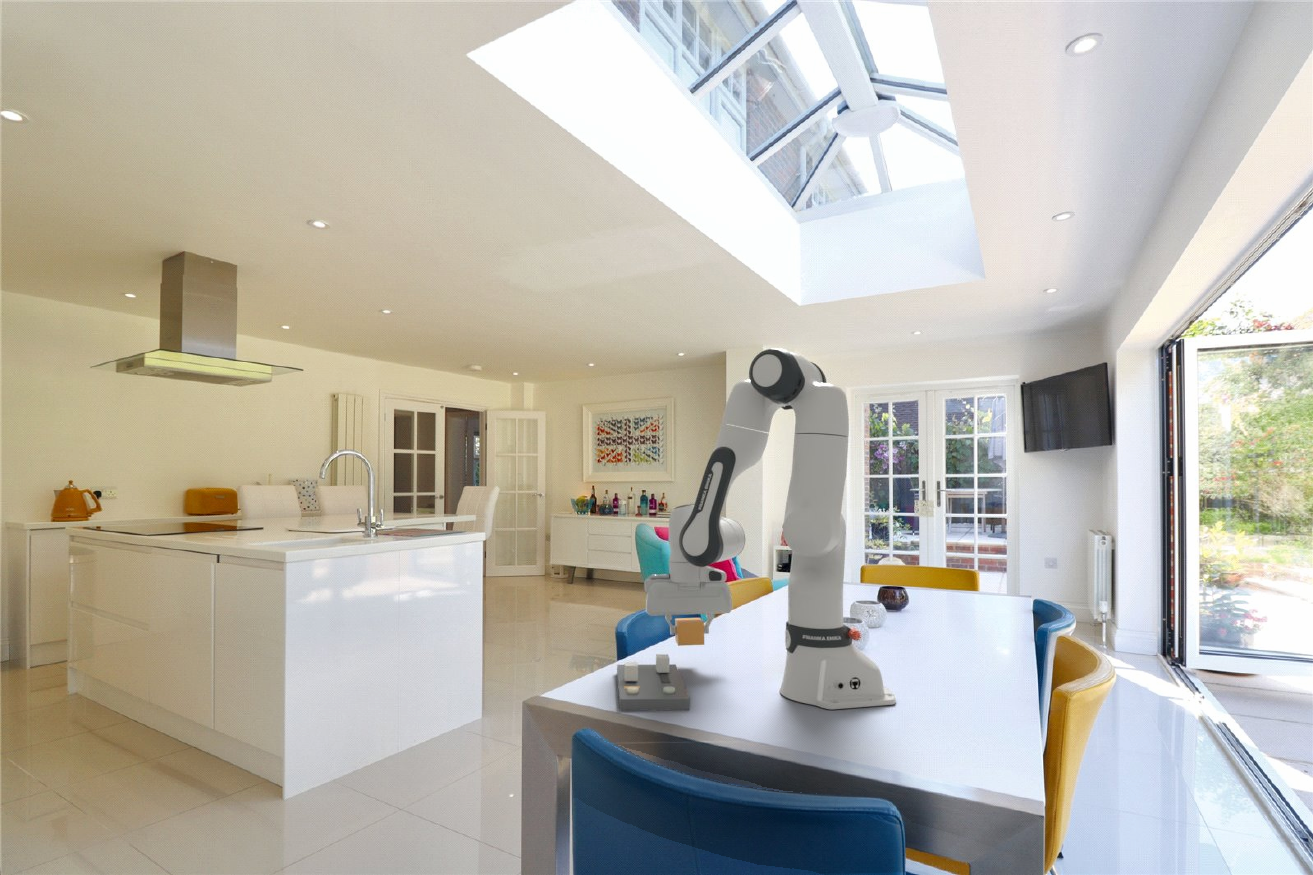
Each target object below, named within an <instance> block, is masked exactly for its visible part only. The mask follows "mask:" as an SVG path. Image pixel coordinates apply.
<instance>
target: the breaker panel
mask: <svg viewBox="0 0 1313 875" xmlns="http://www.w3.org/2000/svg"><path fill="white" fill-rule="evenodd" d="M616 667H617V669H616V670H617V671H616V676H617V691H618V702H619V711H690V710H691V709H690V708H691V698H690V695H689V694H688V691H687V689H686V686H685V684H684V681H683V679H682V677H681V674H680V672H679V669H678V666H677V665H676V663H674V664H669V673H657V671H656V664H638V681H625V678H624V669H625V664H616Z"/></svg>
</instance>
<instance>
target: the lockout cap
mask: <svg viewBox="0 0 1313 875" xmlns="http://www.w3.org/2000/svg"><path fill="white" fill-rule="evenodd" d="M704 625H705V622H704V620H703V619H702V618H701V617H685V618H684V617H683V618H682V617H679V618H676V617H675V618H674V626H676V627H677V635H675V637H674V638H675V643H676V644H677V646H679V647H680V646H681V647H682V646H705V634H704Z"/></svg>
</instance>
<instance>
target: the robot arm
mask: <svg viewBox="0 0 1313 875" xmlns="http://www.w3.org/2000/svg"><path fill="white" fill-rule="evenodd" d="M748 377H749V378H748V379H743V380H740V381H738V382H736V384H735V385H734V386H733V387H732V390H731V392H730V394H729V396H728V399H727V402H726V405H725V408H724V410H723V415H722V418H721V421H720V422H721V423H720V427H719V431H718V436H717V438H716V442H715V445H714V448H713V451H712V452H711V454H710V457H709V459H708V461H707V464H706V467H705V470H704V472H703V474H702V479H701V483H700V486H699V490H698V491H697V492H698V493H697V495H696V499H695V502H694V503H689V504H688V503H687V504H682V505H678V506H676V507H675V508H673V509H671V512H670V515H669V520H668V545H669V548H670V552H669V553H670V555H669V558H668V568H669V570H668V571H669V573H663V574H662V573H661V574H650V575H649V576H647V577H646V578H645V579H644V582H643V588H644V589H643V591H644V593H646V598H645V612H646V613H647V615H649V617H650V616H652V617H655V616H664V619H665V621H666V623H667V625H668V626H669V633H670V636H674V635H677V627H676V626H675V625H673V624H672V622H671V620H673V616H680V615H681V616H682V615H705V616H706V619H707V620H706V621H705V622H704V635H705V634H706V635H707V634H710V625H711V623H712V621H713V620H714V614H730V613H731V611H732V610H733V598H732V592H731V588H730V585H729V584H728V583H726V581H727V577H728V576H727V573H726V572H725V571H724V570H722V569H719V568H715V567H713V566H710V565H713V564H715V563H719V562H724V561H726V560H732V559H734V558H735V557H738V556H739V555H740V554H741V553H742V551H743V550H744V548H745V545H746V535H745V534H746V532H745V530H744V529H743V527H742V525H741V524H740V523H739V522H737V521H736V520H734V519H732V518H727V517H724V516H723V513H724V509H725V505H726V502H727V499H728V496H729V492H730V489H731V487H732V485H733V483H734V482H735V480H736V479H737V478H738V477H739V476H740V475H741V474H743V473H745V471H747V470H748V469H750V468H751V467H754V466H755V465H756V464H757V463H758V462H760V460H761V458H762V456H763V454H764V453H765V450H766V447H767V444H768V440H769V436H770V430H771V424H772V420H773V417H774V415H775V413H776V412H777V411H778V410H779V409H780V408H781V409H783V410H793V411H794V416H795V420H794V421H795V422H794V437H793V449H792V450H793V451H792V465H791V475H790V480H789V485H788V492H787V495H786V496H787V497H786V503H785V509H784V510H785V511H784V518H783V524H782V536H783V540H784V541H785V543H786V545H787V546H788V547H789V549H790V550H791V551H792V553H791V563H790V571H789V572H790V573H789V577H788V583H787V585H788V586H787V588H788V589H787V621H786V622H785V632H784V635H785V636H784V637H785V638H784V643H785V649H786V656H785V657H786V658H785V666H784V672H783V677H782V681H781V684H780V688H779V693H780V695H782V696H783V697H785V698H787V699H789V700H792V701H795V702H798V703H803V704H807V705H812V706H817V707H820V708H822V709H827V710H841V709H853V708H855V709H856V708H863V707H864V708H866V707H878V706H879V707H880V706H889V705H895V704H896V702H897V701H896V696H895V693H894V692H893V691H891V690H890V689H889V688H887V687H886V686H884V681H883V676H882V673H881V669H880V668H879V666H878V665H877V663H876V662H874V661H873V660H872V659H871V658H870V657H869V656H867V655H866V654H865V653H864V652H863V651H862V650H861V649H859V648H857V646H855V645H854V644H853V641H856V642H857V641H860V640H861V639H862V633H861V632H860V631H859V630H857V629H855V628H850V627H848V626H847V625H845V624H844V579H845V578H844V577H845V562H846V561H845V560H846V538H847V537H846V536H847V532H846V531H847V526H846V521H845V518H844V516H843V515H842V506H843V500H844V491H845V485H846V478H847V467H848V452H849V451H848V450H849V437H850V436H849V435H850V434H849V433H850V432H849V431H850V424H849V423H850V422H849V421H850V418H849V408H848V407H849V406H848V399H847V396H846V393H845V392H844V390H843V389H842V388H841V387H839V386H837V385H835V384H832V383H830V382H829V383H828V382H827V378H826V375H825V372H823V370H822V369H821V368H820V367H819V366H818V365H817V364H816V363H814V362H813V361H810V360H808V359H806V358H805V357H804V356H802V355H801V354H799V353H796V352H792V351H788V350H787V349H784V348H778V347H777V348H776V347H775V348H774V347H773V348H767V349H765V350H762V351H761V352H759V353H757V355H756V356H755V357H754V358H753V359H752V361H751V363H750V366H749V371H748Z"/></svg>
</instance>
